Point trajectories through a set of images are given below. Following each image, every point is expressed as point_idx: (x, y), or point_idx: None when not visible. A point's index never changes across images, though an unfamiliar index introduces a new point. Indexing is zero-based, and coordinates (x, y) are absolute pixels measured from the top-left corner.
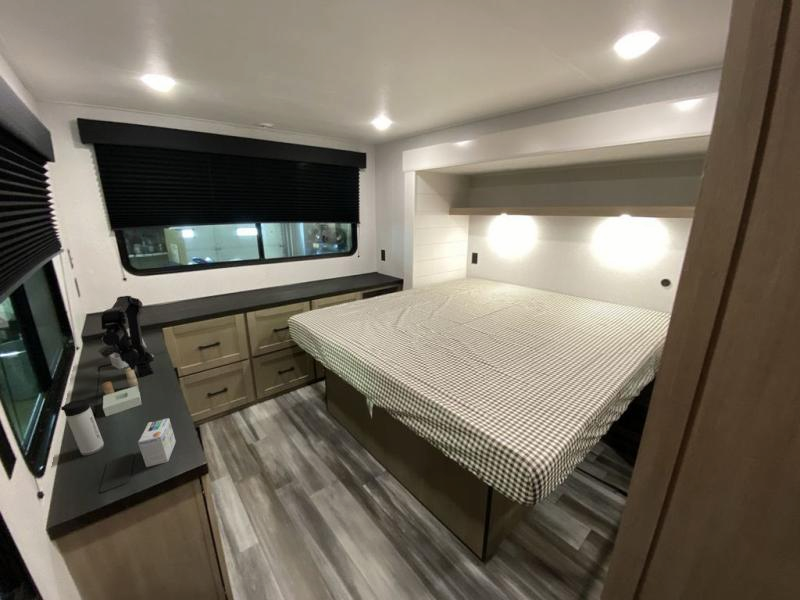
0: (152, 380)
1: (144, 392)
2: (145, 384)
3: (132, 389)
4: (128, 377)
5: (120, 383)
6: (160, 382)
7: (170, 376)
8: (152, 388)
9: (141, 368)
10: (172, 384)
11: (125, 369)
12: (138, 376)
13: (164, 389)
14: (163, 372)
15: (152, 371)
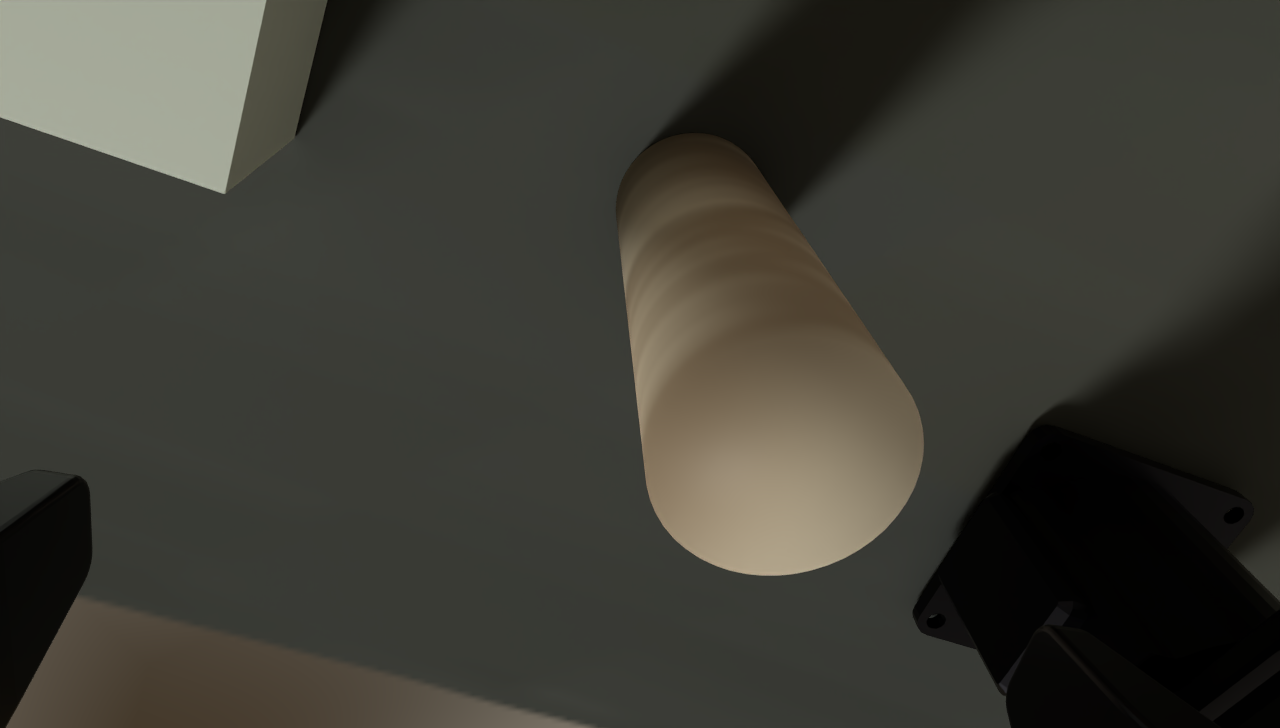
0: (637, 495)
1: (228, 200)
2: (598, 365)
3: (73, 14)
4: (691, 244)
5: (1197, 137)
6: (400, 527)
7: (478, 690)
8: (272, 356)
9: (1053, 619)
10: (101, 589)
11: (881, 386)
12: (1047, 442)
13: (4, 444)
14: (760, 697)
15: (963, 637)
